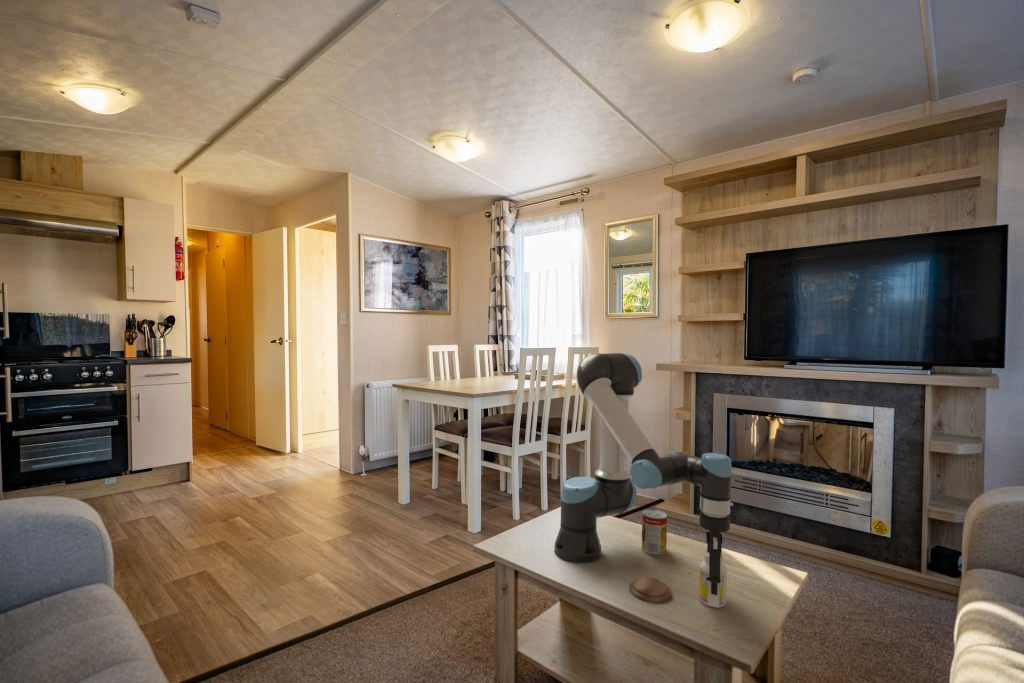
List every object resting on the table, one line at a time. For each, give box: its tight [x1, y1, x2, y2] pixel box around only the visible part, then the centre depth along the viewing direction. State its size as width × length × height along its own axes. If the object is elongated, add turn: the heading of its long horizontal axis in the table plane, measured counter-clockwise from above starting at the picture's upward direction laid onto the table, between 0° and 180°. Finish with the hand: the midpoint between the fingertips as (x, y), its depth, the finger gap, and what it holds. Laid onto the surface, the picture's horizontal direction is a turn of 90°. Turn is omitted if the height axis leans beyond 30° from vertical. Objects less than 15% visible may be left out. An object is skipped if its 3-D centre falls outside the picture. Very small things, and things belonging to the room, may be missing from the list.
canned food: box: [641, 509, 668, 556], centre depth 166 cm, size 8×8×12 cm
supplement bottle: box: [698, 550, 728, 609], centre depth 134 cm, size 7×7×13 cm
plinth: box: [629, 576, 672, 604], centre depth 138 cm, size 11×11×2 cm
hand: (712, 594), depth 134 cm, fingers open, 11 cm apart
